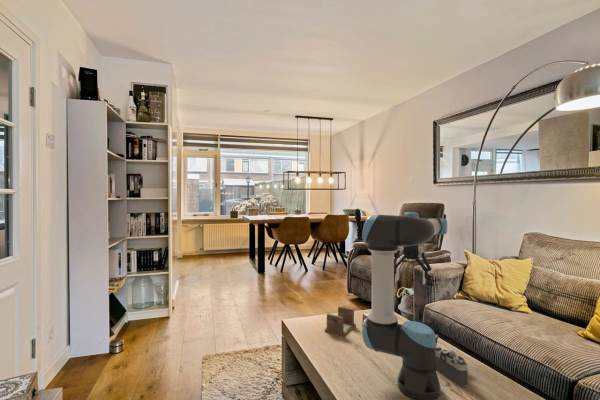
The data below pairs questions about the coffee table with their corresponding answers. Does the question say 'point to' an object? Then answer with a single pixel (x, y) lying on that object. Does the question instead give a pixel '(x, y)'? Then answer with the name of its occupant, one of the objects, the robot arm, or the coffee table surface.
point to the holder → (341, 321)
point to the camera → (451, 366)
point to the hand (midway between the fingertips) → (410, 282)
